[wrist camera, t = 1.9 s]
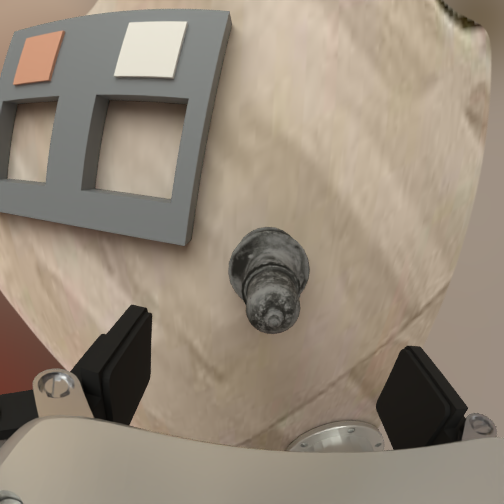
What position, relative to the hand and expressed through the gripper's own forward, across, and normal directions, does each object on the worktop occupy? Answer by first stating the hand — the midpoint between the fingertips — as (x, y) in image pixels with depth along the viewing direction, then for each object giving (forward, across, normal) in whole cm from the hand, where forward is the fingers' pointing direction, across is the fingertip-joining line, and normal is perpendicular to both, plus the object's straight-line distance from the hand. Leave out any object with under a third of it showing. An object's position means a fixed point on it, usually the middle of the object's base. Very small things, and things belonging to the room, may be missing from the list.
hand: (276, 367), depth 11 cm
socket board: (+16, +18, -9) cm, 26 cm away
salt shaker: (+16, 0, +1) cm, 16 cm away
